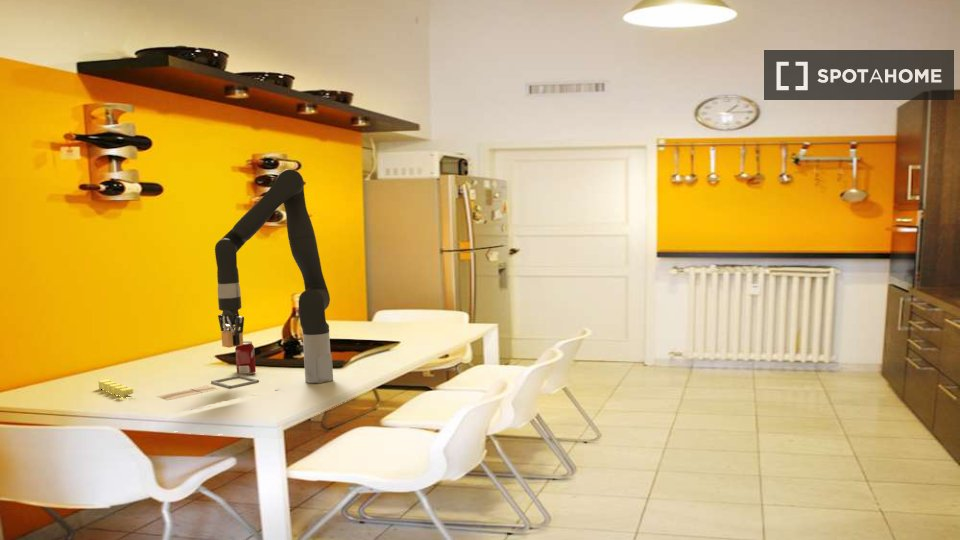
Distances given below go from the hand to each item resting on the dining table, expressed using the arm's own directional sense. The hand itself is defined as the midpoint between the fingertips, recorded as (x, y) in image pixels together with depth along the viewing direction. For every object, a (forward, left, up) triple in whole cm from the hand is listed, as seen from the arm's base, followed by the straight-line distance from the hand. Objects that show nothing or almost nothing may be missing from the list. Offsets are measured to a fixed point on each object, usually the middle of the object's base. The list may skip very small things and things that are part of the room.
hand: (232, 344), depth 269 cm
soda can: (+15, -13, -15) cm, 25 cm away
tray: (0, 0, -15) cm, 15 cm away
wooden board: (0, +17, -15) cm, 23 cm away
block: (0, 0, 0) cm, 0 cm away
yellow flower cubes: (+28, +28, -16) cm, 43 cm away
